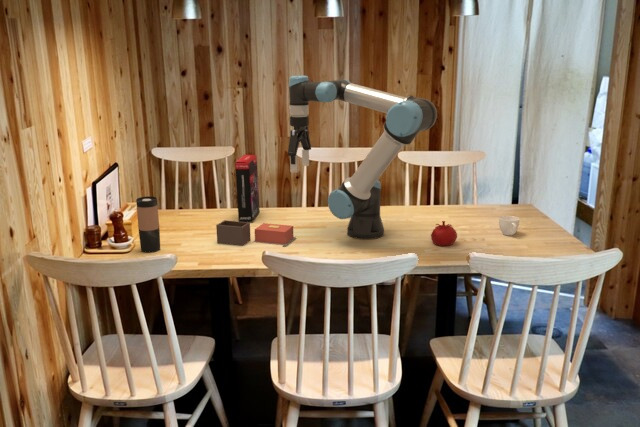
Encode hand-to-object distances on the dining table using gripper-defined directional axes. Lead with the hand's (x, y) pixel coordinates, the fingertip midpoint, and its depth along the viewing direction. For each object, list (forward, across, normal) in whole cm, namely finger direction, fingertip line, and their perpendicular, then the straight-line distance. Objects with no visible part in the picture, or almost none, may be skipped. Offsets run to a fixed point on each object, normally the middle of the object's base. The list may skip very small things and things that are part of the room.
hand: (299, 168), depth 251 cm
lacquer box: (+27, +22, -20) cm, 40 cm away
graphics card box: (+27, -14, -30) cm, 43 cm away
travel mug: (+27, +38, -47) cm, 66 cm away
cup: (+27, -22, +82) cm, 89 cm away
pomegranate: (+27, -3, +58) cm, 64 cm away
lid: (+26, +14, -6) cm, 30 cm away
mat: (+27, +14, -6) cm, 31 cm away
